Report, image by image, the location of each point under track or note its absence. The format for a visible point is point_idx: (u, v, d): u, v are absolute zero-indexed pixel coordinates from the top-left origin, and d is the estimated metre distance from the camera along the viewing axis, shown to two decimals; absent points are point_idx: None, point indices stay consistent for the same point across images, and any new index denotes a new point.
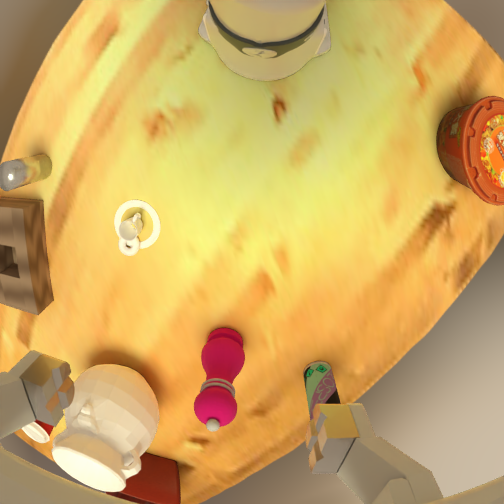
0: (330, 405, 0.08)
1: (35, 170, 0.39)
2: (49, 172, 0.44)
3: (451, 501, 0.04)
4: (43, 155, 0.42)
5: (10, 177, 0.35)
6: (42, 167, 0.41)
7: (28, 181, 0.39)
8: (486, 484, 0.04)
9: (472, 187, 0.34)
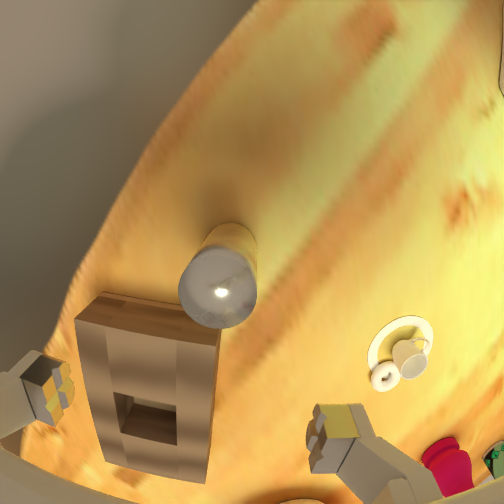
0: (330, 405, 0.08)
1: None
2: None
3: (451, 501, 0.04)
4: (241, 227, 0.26)
5: (236, 298, 0.17)
6: (256, 257, 0.24)
7: None
8: (486, 484, 0.04)
9: None
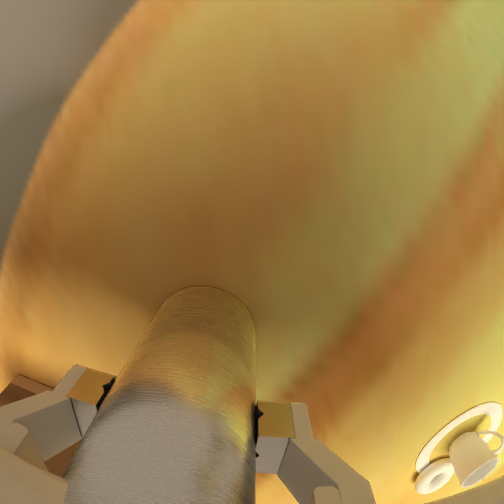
0: (270, 402, 0.08)
1: None
2: None
3: (451, 501, 0.04)
4: (223, 300, 0.12)
5: None
6: (255, 373, 0.10)
7: None
8: (486, 484, 0.04)
9: None
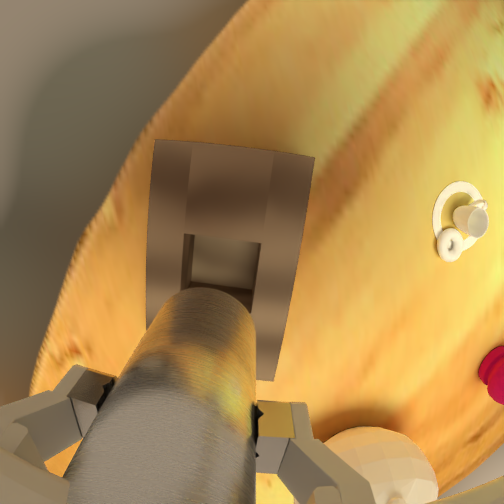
0: (270, 402, 0.08)
1: None
2: None
3: (451, 501, 0.04)
4: (224, 301, 0.12)
5: None
6: (255, 375, 0.10)
7: None
8: (486, 484, 0.04)
9: None
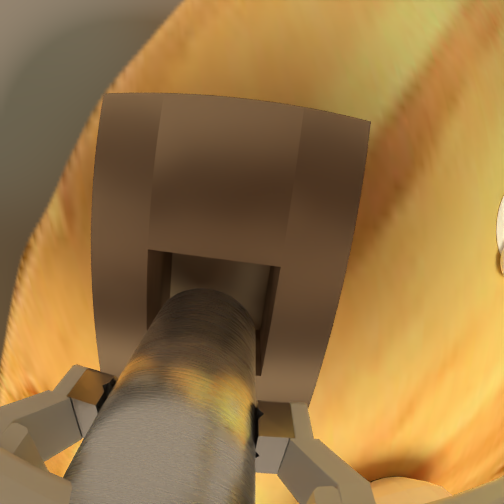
0: (270, 402, 0.08)
1: None
2: None
3: (451, 501, 0.04)
4: (223, 302, 0.12)
5: None
6: (255, 376, 0.10)
7: None
8: (486, 484, 0.04)
9: None
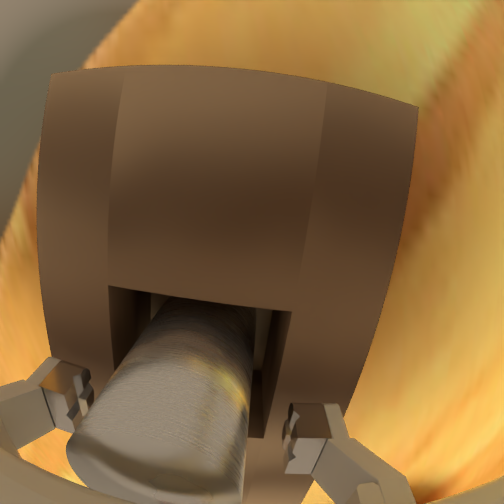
0: (304, 404, 0.08)
1: None
2: None
3: (451, 501, 0.04)
4: None
5: (193, 502, 0.06)
6: None
7: None
8: (486, 484, 0.04)
9: None
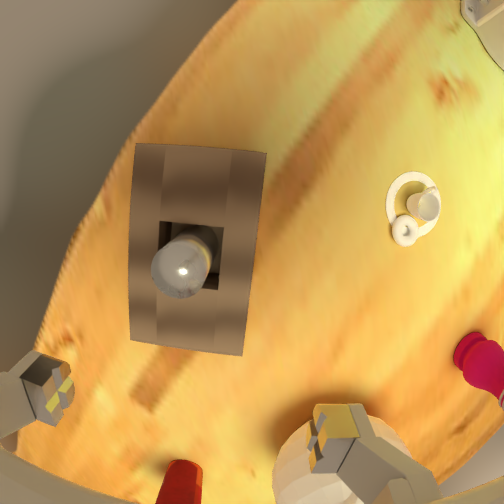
0: (330, 405, 0.08)
1: (213, 258, 0.29)
2: None
3: (451, 501, 0.04)
4: (205, 227, 0.33)
5: (191, 275, 0.24)
6: (215, 250, 0.31)
7: None
8: (486, 484, 0.04)
9: None
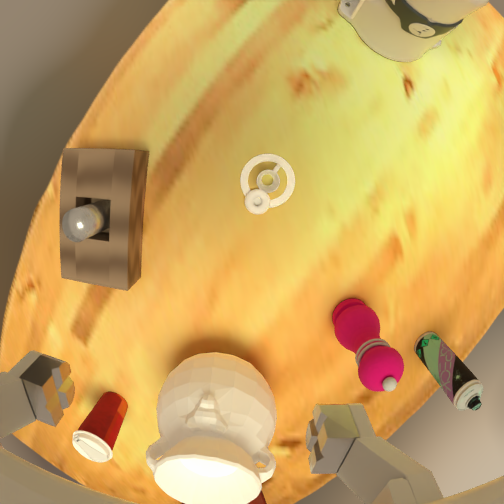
0: (330, 405, 0.08)
1: (106, 220, 0.41)
2: None
3: (451, 501, 0.04)
4: (109, 201, 0.44)
5: (81, 227, 0.36)
6: None
7: (98, 231, 0.40)
8: (486, 484, 0.04)
9: None
